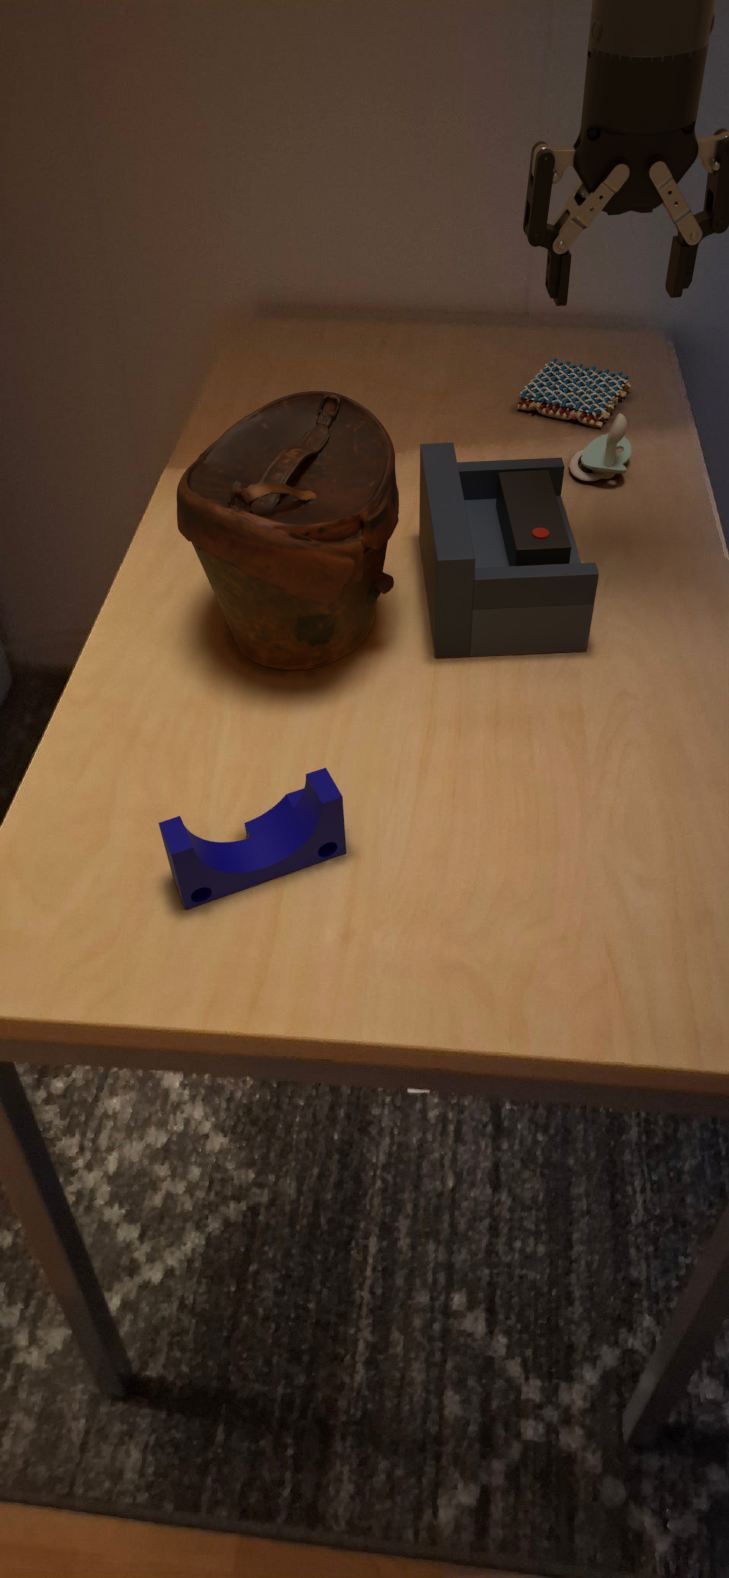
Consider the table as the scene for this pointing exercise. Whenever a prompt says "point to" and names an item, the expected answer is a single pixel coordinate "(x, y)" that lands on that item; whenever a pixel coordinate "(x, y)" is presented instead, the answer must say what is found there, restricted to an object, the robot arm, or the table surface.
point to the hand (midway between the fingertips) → (615, 298)
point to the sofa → (493, 566)
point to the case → (295, 526)
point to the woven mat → (574, 393)
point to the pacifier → (604, 454)
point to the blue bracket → (259, 844)
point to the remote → (531, 519)
